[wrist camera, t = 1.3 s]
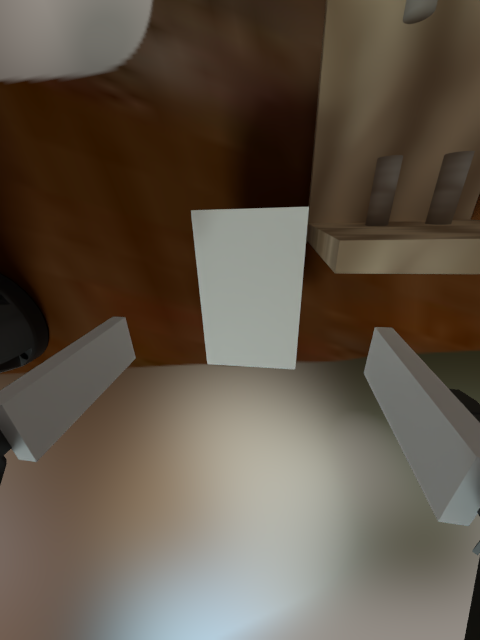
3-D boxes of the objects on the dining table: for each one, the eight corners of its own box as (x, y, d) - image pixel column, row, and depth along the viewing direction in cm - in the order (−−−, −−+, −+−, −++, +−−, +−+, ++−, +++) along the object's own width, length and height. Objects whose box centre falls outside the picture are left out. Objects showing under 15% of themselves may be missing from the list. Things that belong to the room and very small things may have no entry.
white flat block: (214, 347, 25) (207, 364, 22) (203, 209, 19) (190, 210, 17) (293, 350, 24) (295, 369, 21) (304, 206, 18) (308, 206, 15)
